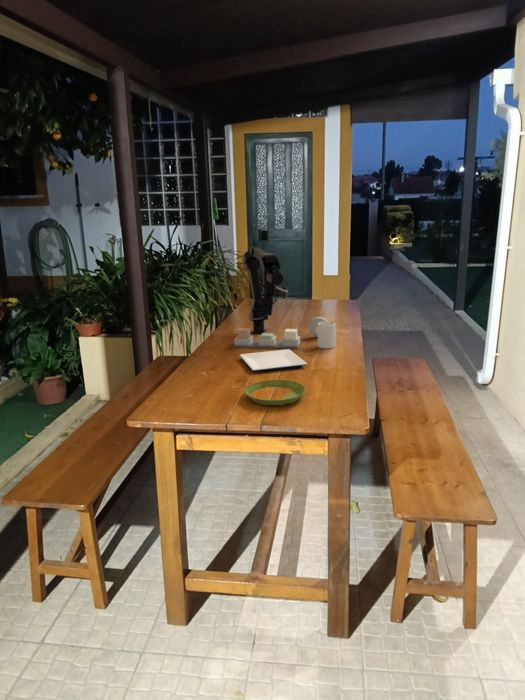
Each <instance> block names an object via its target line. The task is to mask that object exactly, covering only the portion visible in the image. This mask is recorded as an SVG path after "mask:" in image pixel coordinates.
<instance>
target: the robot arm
mask: <svg viewBox="0 0 525 700" xmlns="http://www.w3.org/2000/svg"><path fill="white" fill-rule="evenodd" d="M241 261H242V264H243V267H244V269H245V270H246V272H247V273H248V278H249V283H250V290H251V296H252V302H251V305H250V311H249V312H248V313H249V314H248V320H249V321H250V322H252V330H251V331H250V334H262V333H266V331H267V329H266V328H265V321H267V320H269V316H272V315H273V311H274V310H273V309H274V305H275V303H276V302H277V301H278V299H276V298H275V297H277V298H282V299H287V297H288V293H289V290H288V287H287V286H284V285H283V286H282V287H281V286H280V285H281V284H282V283H283V281H284V276H283V274H282V273H281V272H280V271H281V264H280V262H279V261H280V260H279V258H278V256H277V255H276V254H275V253H268V252H266V251H265V250H263V249H262V247H260V246H251V247H249V250H247V251H246V252H244V253H243V255H242V259H241ZM260 267H261V271H262V288H263V293H262V290H261V281H260V275H259V269H260ZM279 286H280V287H279Z"/></svg>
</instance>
